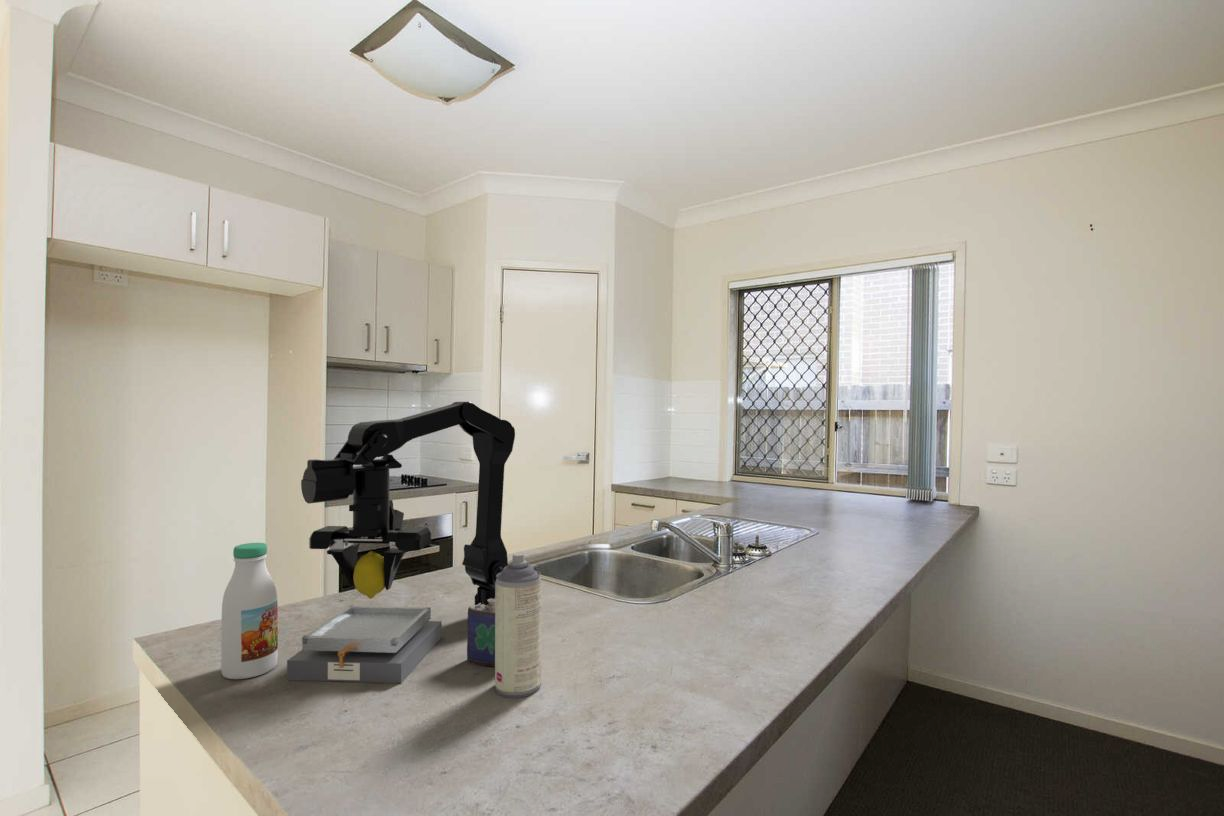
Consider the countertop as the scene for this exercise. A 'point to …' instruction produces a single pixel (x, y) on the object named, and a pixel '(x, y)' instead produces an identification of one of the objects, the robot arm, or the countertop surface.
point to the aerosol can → (517, 629)
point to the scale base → (366, 661)
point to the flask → (481, 634)
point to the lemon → (369, 574)
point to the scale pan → (367, 630)
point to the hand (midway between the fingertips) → (371, 588)
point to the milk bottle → (249, 616)
